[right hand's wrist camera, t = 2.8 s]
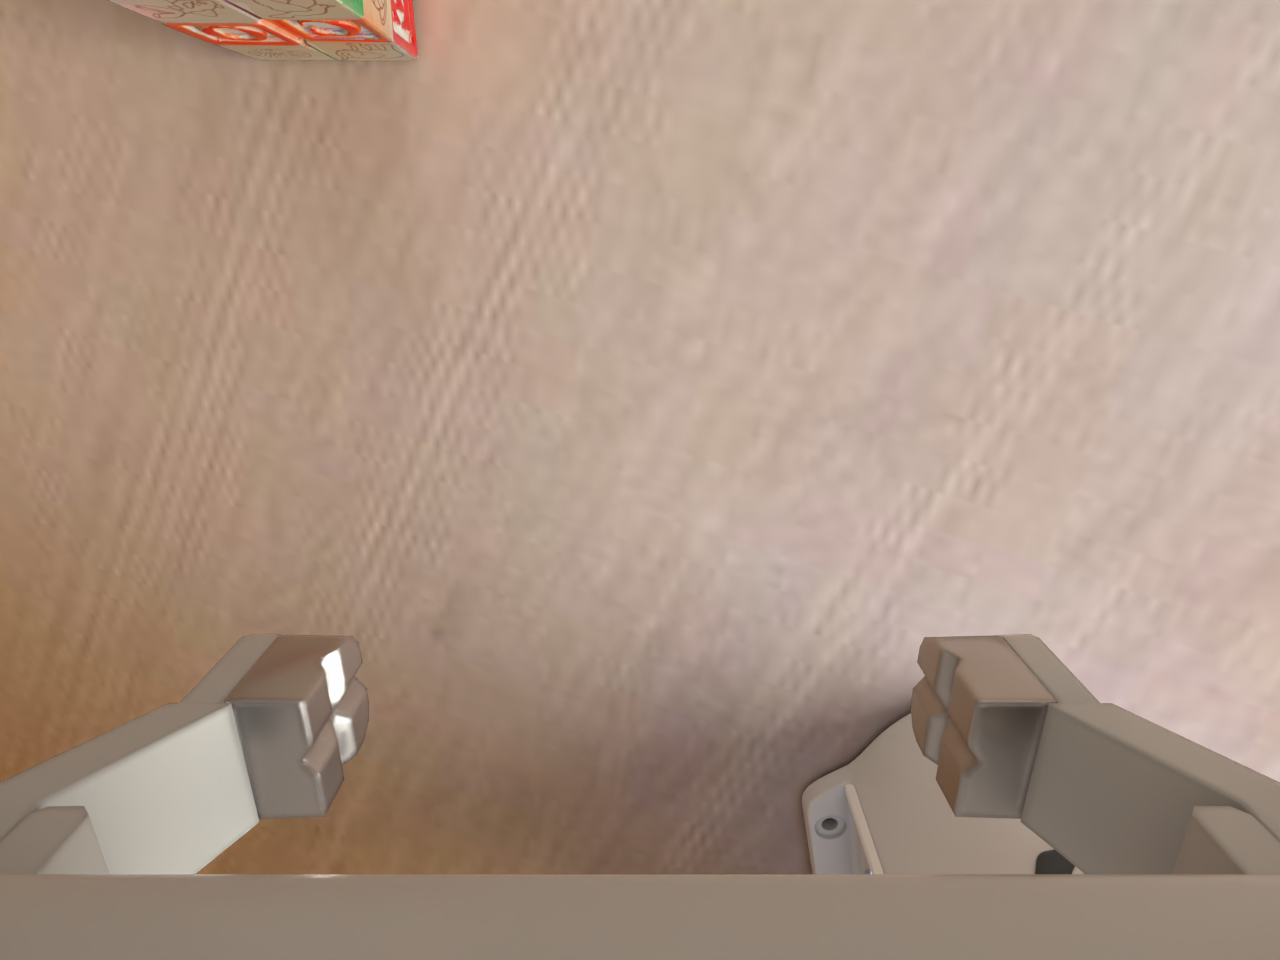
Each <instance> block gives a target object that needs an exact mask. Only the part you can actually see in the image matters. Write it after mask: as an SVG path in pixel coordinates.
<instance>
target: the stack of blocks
mask: <svg viewBox="0 0 1280 960" xmlns="http://www.w3.org/2000/svg"><path fill="white" fill-rule="evenodd" d="M108 1H111V2H113V3H116V4H118V5H121V6H123V7H125V8H128V9H130V10H133V11H135V12H138V13H140V14H142V15H145V16H147V17H150V18H153V19H155V20H157V21H161V22H162V24H163V25H166V26H168V27H170V28H172V29H175V30H177V31H180V32H183V33H185V34H188V35H190V36H193V37H196V38H198V39H201V40H204V41H207V42H210V43H213V44H216V45H219V46H221V47H224V48H227V49H230V50H233V51H236V52H238V53H241V54H244V55H246V56H249V57H252V58H255V59H258V60H345V61H394V60H410V59H416V58H418V51H417V42H416V33H415V24H414V14H413V4H412V0H108Z"/></svg>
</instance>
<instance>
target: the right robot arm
mask: <svg viewBox="0 0 1280 960" xmlns="http://www.w3.org/2000/svg"><path fill="white" fill-rule="evenodd" d="M362 663H363V661H362V656H361V651H360V646H359V642H358V641H357V640H356V639H355V638H354V637H353V636H322V635H284V636H283V635H281V634H269V635H248V636H244V637H242V638H241V639H240V640H239V641H238V642H237V643H236V644H235V645H234V646H233V647H232V648H231V649H230V650H229V651H228V652H227V653H226V654H225V656H224V657H223V658H222V659H221V660H220V661H219V662H218V663H217V664H216V665H215V666H214V667H213V668H212V669H211V670H210V671H209V673H208V674H207V675H206V676H205V677H204V678H203V679H202V680H201V681H200V682H199V683H198V684H197V685H196V686H195V687H194V688H193V690H192V691H191V692H190V693H189V694H188V695H187V696H186V697H185V698H184V699H183V700H182V701H181V702H180V703H171V704H166V705H164V706H161V707H159V708H157V709H155V710H153V711H151V712H149V713H147V714H144V715H142V716H140V717H138V718H136V719H134V720H132V721H130V722H127V723H125V724H123V725H121V726H119V727H117V728H115V729H113V730H110V731H108V732H106V733H104V734H102V735H100V736H98V737H96V738H93V739H91V740H89V741H87V742H85V743H83V744H81V745H79V746H76V747H74V748H72V749H70V750H68V751H66V752H64V753H62V754H59V755H57V756H55V757H53V758H51V759H49V760H47V761H45V762H43V763H40V764H38V765H36V766H34V767H32V768H30V769H28V770H26V771H23V772H21V773H19V774H17V775H15V776H13V777H11V778H9V779H6V780H4V781H2V782H0V960H1280V783H1279V782H1277V781H1275V780H1273V779H1271V778H1269V777H1267V776H1265V775H1263V774H1260V773H1258V772H1256V771H1254V770H1252V769H1250V768H1248V767H1246V766H1243V765H1241V764H1239V763H1237V762H1235V761H1233V760H1231V759H1229V758H1227V757H1224V756H1222V755H1220V754H1218V753H1216V752H1214V751H1212V750H1210V749H1207V748H1205V747H1203V746H1201V745H1199V744H1197V743H1195V742H1193V741H1191V740H1188V739H1186V738H1184V737H1182V736H1180V735H1178V734H1176V733H1174V732H1171V731H1169V730H1167V729H1165V728H1163V727H1161V726H1159V725H1157V724H1155V723H1152V722H1150V721H1148V720H1146V719H1144V718H1142V717H1140V716H1138V715H1135V714H1133V713H1131V712H1129V711H1127V710H1125V709H1123V708H1121V707H1119V706H1116V705H1114V704H1109V703H1100V702H1099V701H1098V700H1097V699H1096V698H1095V697H1094V696H1093V695H1092V694H1091V693H1090V692H1089V691H1088V690H1087V688H1086V687H1085V686H1084V685H1083V684H1082V683H1081V682H1080V681H1079V680H1078V679H1077V678H1076V677H1075V676H1074V675H1073V674H1072V672H1071V671H1070V670H1069V669H1068V668H1067V667H1066V666H1065V665H1064V664H1063V663H1062V662H1061V661H1060V660H1059V659H1058V658H1057V656H1056V655H1055V654H1054V653H1053V652H1052V651H1051V650H1050V649H1049V648H1048V647H1047V646H1046V645H1045V644H1044V643H1043V642H1042V641H1041V639H1040V638H1038V637H1036V636H1033V635H1031V634H1017V635H995V636H958V637H924V639H923V642H922V644H921V646H920V649H919V655H918V661H917V663H918V664H919V666H920V668H921V669H922V671H923V673H924V674H925V677H924V678H923V679H922V680H921V681H920V682H919V683H918V684H917V685H916V686H915V687H914V688H913V693H912V702H911V713H910V714H908V715H906V716H904V717H903V718H901V719H900V720H898V721H897V722H895V723H894V724H892V725H891V726H890V727H888V728H887V729H886V730H885V731H883V732H882V733H881V734H880V735H879V736H878V737H877V738H875V740H874V741H873V742H872V743H871V744H870V745H869V746H868V747H867V748H866V749H865V750H864V751H863V752H862V753H861V754H860V755H859V756H858V757H857V758H855V759H854V760H853V761H852V762H851V763H849V764H848V765H846V766H844V767H842V768H839V769H837V770H835V771H833V772H831V773H829V774H827V775H825V776H823V777H821V778H819V779H818V780H816V781H815V782H813V783H812V784H810V785H809V786H808V787H807V788H806V789H805V791H804V792H803V794H802V808H803V815H804V821H805V828H806V835H807V842H808V848H809V855H810V862H811V868H812V874H196V873H197V872H198V871H200V870H201V869H202V868H203V867H205V866H206V865H207V864H208V863H210V862H211V861H212V860H213V859H215V858H216V857H217V856H218V855H219V854H221V853H222V852H223V851H224V850H226V849H227V848H228V847H229V846H231V845H232V844H233V843H234V842H236V841H237V840H238V839H239V838H240V837H242V836H243V835H244V834H245V833H247V832H248V831H249V830H250V829H252V828H253V827H254V826H255V825H256V824H258V823H259V819H269V818H303V817H325V815H326V813H327V811H328V809H329V808H330V806H331V804H332V802H333V800H334V798H335V796H336V794H337V792H338V790H339V789H340V787H341V785H342V783H343V781H344V774H343V768H342V765H343V764H345V763H346V762H348V761H349V760H351V759H352V758H354V757H355V756H357V754H358V752H359V750H360V748H361V746H362V744H363V742H364V739H365V734H366V730H367V725H368V721H369V700H368V693H367V688H366V687H365V686H364V685H363V684H362V683H361V682H360V681H359V680H358V679H357V678H356V677H355V674H356V673H357V671H358V669H359V668H360V666H361V664H362ZM828 818H831V819H828ZM825 819H828V820H825Z"/></svg>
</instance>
